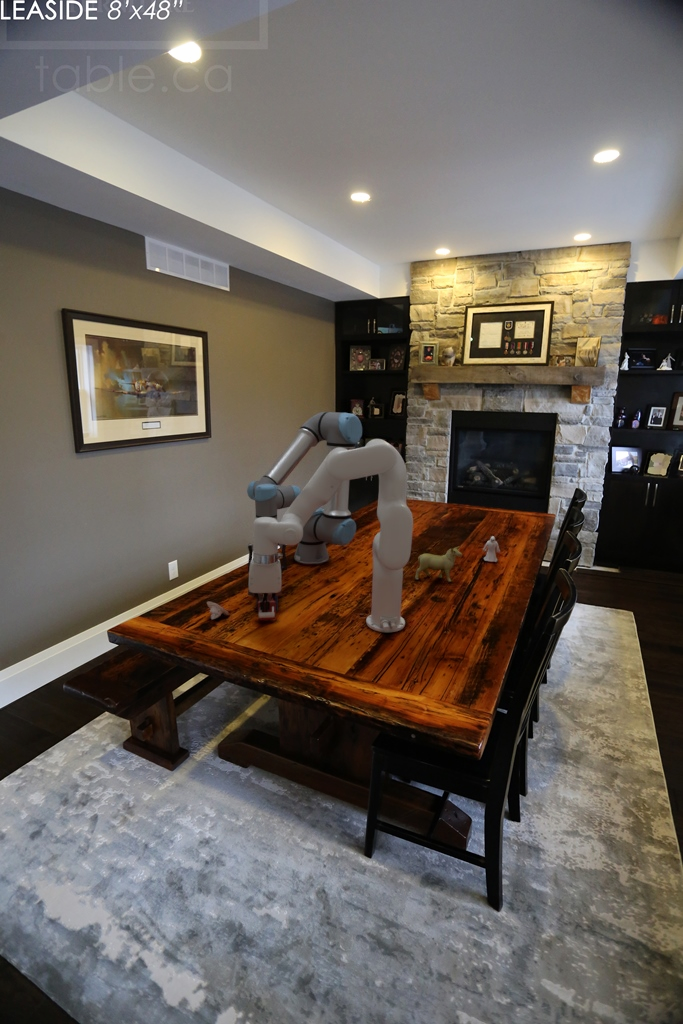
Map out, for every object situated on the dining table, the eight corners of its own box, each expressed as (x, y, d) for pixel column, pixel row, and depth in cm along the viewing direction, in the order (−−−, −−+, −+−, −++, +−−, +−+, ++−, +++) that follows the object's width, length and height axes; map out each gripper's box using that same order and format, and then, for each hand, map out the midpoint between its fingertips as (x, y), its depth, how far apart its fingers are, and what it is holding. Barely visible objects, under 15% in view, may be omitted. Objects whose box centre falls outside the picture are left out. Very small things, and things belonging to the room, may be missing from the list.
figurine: (481, 562, 222) (483, 536, 219) (482, 556, 230) (484, 531, 227) (499, 564, 220) (501, 538, 217) (499, 558, 228) (501, 533, 225)
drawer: (275, 628, 157) (275, 610, 155) (258, 629, 156) (257, 611, 155) (275, 597, 178) (275, 581, 177) (260, 598, 178) (259, 582, 176)
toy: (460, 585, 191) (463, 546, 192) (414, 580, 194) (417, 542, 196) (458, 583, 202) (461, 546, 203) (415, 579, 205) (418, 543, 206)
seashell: (213, 627, 166) (197, 609, 165) (224, 617, 169) (208, 599, 168) (221, 623, 159) (205, 604, 159) (233, 612, 163) (217, 594, 162)
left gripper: (293, 524, 183) (294, 583, 188) (238, 526, 180) (241, 585, 185) (295, 530, 176) (295, 591, 181) (237, 531, 173) (240, 593, 178)
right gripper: (289, 553, 159) (288, 606, 163) (241, 553, 157) (241, 607, 161) (290, 561, 152) (288, 616, 156) (240, 561, 149) (240, 617, 154)
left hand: (268, 588), depth 183 cm, fingers closed on cabinet, 7 cm apart
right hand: (264, 611), depth 159 cm, fingers closed
